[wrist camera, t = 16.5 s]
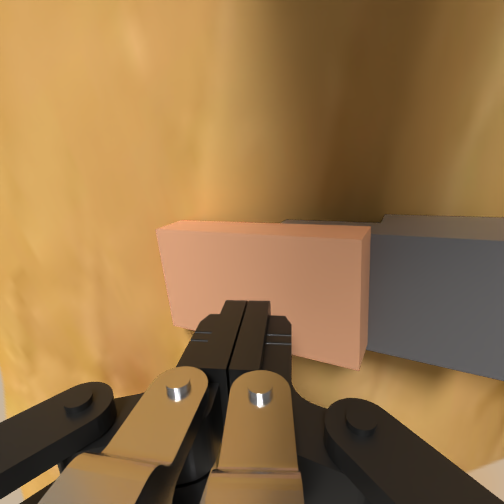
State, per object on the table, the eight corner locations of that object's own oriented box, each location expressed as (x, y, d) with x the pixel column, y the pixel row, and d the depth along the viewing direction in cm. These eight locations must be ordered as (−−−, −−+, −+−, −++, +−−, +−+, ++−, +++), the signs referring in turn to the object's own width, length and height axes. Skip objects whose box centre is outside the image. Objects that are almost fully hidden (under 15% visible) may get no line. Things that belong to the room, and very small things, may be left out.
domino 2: (270, 228, 14) (546, 243, 9) (286, 219, 15) (531, 228, 11) (276, 329, 15) (515, 383, 11) (291, 312, 17) (507, 353, 12)
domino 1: (155, 229, 14) (361, 240, 10) (181, 220, 16) (370, 226, 11) (173, 325, 16) (359, 370, 11) (195, 308, 17) (367, 343, 13)
